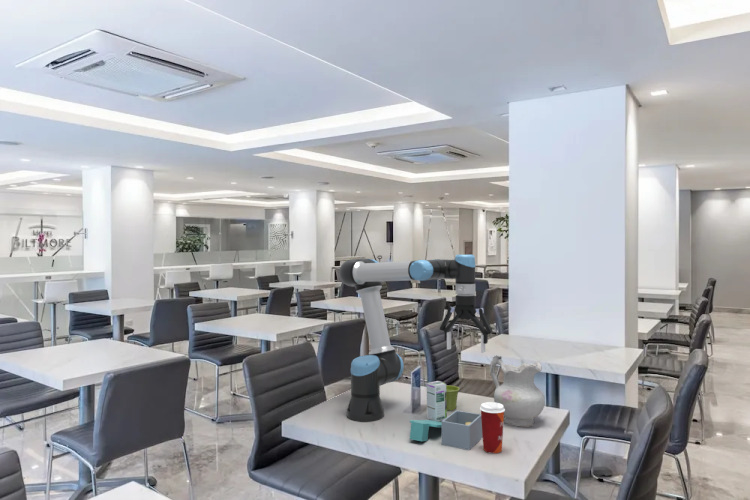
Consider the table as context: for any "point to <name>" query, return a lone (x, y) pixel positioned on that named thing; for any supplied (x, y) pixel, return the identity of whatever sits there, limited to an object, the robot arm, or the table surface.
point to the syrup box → (436, 401)
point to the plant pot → (451, 396)
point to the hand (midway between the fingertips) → (465, 350)
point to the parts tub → (462, 429)
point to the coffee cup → (492, 426)
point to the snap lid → (422, 429)
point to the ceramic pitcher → (518, 392)
